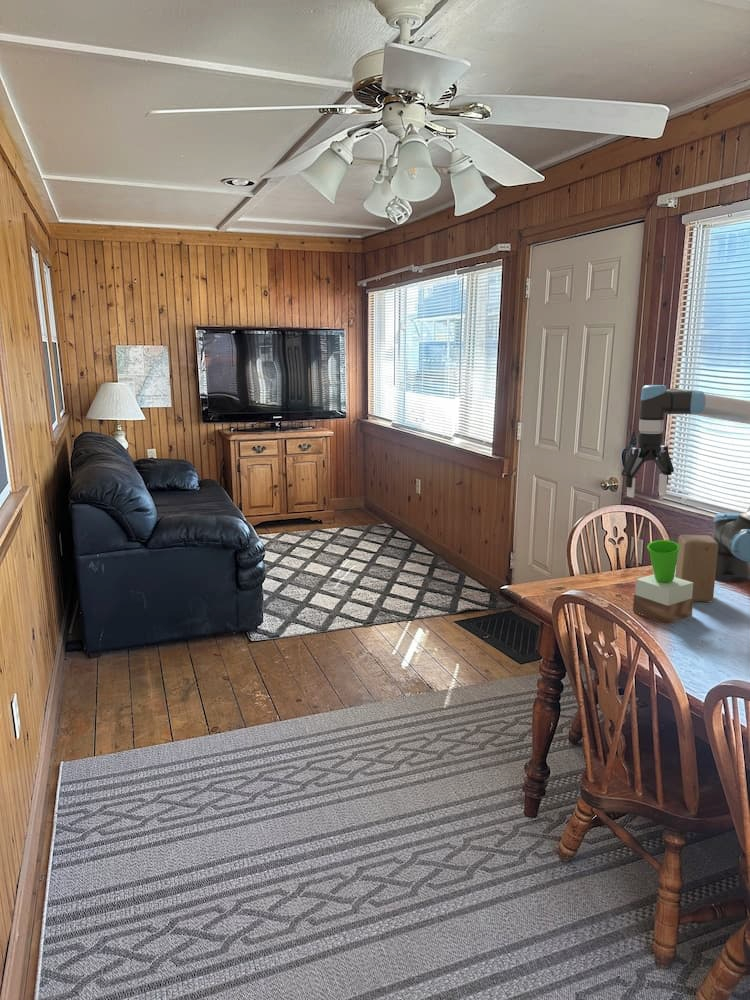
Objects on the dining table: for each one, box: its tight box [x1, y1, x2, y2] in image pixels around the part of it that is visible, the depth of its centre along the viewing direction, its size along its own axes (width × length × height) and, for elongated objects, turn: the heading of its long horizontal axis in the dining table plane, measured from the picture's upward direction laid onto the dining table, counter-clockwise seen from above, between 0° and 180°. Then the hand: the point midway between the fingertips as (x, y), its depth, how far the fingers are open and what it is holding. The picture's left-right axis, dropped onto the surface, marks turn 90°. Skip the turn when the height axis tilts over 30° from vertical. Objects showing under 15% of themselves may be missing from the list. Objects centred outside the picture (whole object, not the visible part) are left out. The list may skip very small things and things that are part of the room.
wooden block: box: [674, 534, 718, 603], centre depth 220 cm, size 10×10×20 cm
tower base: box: [632, 593, 694, 625], centre depth 208 cm, size 12×12×6 cm
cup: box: [646, 539, 680, 583], centre depth 204 cm, size 9×9×11 cm
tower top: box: [634, 573, 693, 606], centre depth 206 cm, size 12×12×5 cm
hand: (646, 495), depth 229 cm, fingers open, 13 cm apart
